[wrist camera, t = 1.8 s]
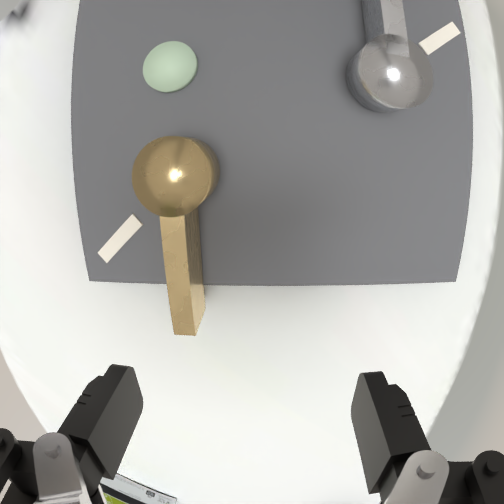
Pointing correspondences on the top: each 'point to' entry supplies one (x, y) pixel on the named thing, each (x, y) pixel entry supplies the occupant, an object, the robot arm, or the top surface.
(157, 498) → the tea box
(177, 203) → the brass door handle
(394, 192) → the board
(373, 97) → the chrome lever handle
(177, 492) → the top surface
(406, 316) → the top surface
